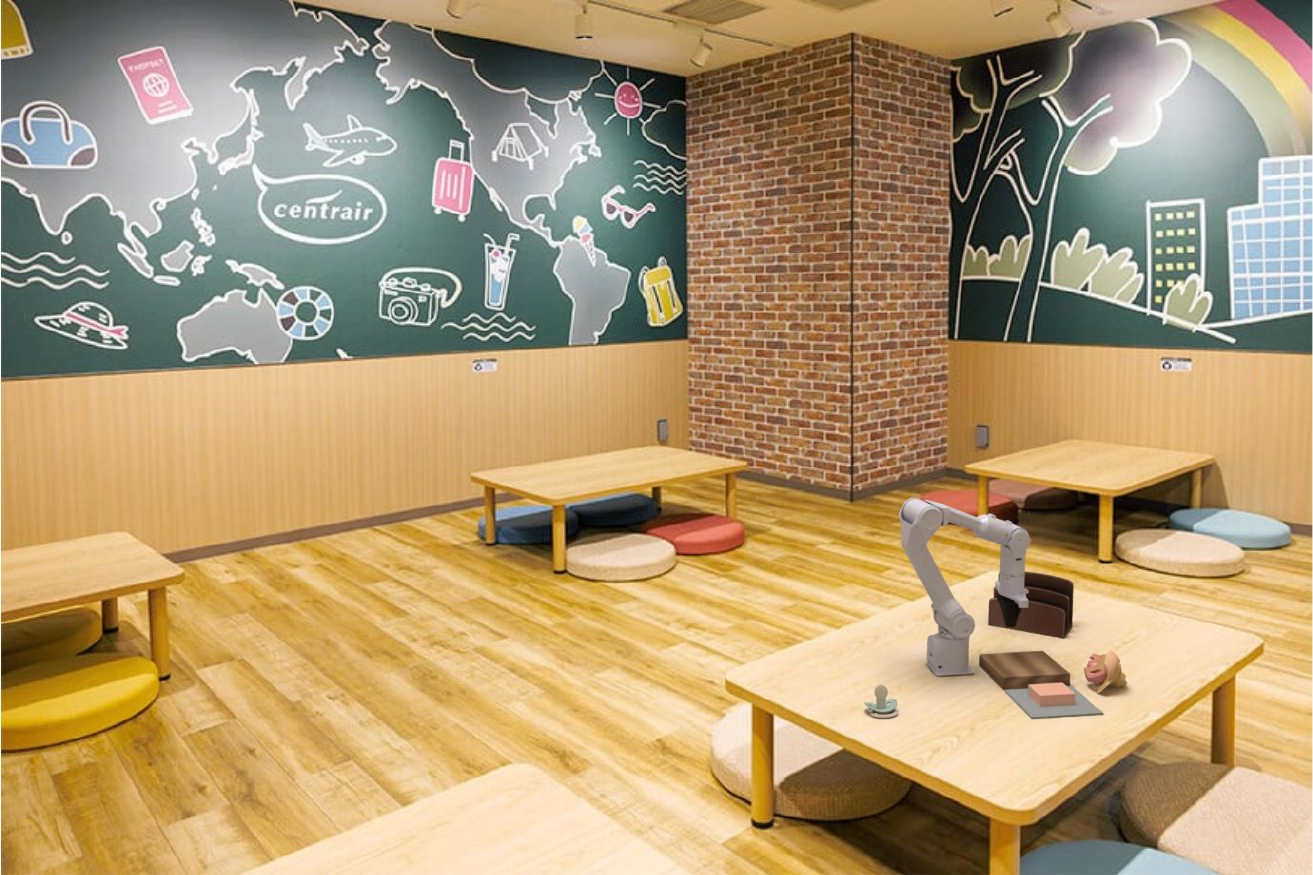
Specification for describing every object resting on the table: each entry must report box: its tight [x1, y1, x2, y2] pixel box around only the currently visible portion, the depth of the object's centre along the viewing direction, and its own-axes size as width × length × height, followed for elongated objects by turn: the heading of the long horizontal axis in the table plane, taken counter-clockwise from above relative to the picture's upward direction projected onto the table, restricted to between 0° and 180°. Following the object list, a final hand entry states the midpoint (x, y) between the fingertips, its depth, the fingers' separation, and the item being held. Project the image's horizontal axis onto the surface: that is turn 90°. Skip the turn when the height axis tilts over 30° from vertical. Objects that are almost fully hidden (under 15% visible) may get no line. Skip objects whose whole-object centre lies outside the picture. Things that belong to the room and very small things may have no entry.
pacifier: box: [864, 684, 899, 719], centre depth 215 cm, size 7×6×6 cm
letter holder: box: [987, 571, 1075, 639], centre depth 263 cm, size 10×20×14 cm, turn 55°
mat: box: [1004, 685, 1104, 720], centre depth 218 cm, size 16×14×1 cm
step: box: [978, 650, 1071, 691], centre depth 233 cm, size 16×14×3 cm
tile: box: [1027, 683, 1075, 706], centre depth 219 cm, size 8×6×2 cm
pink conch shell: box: [1083, 649, 1128, 695], centre depth 224 cm, size 9×10×10 cm
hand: (1010, 626), depth 239 cm, fingers closed
